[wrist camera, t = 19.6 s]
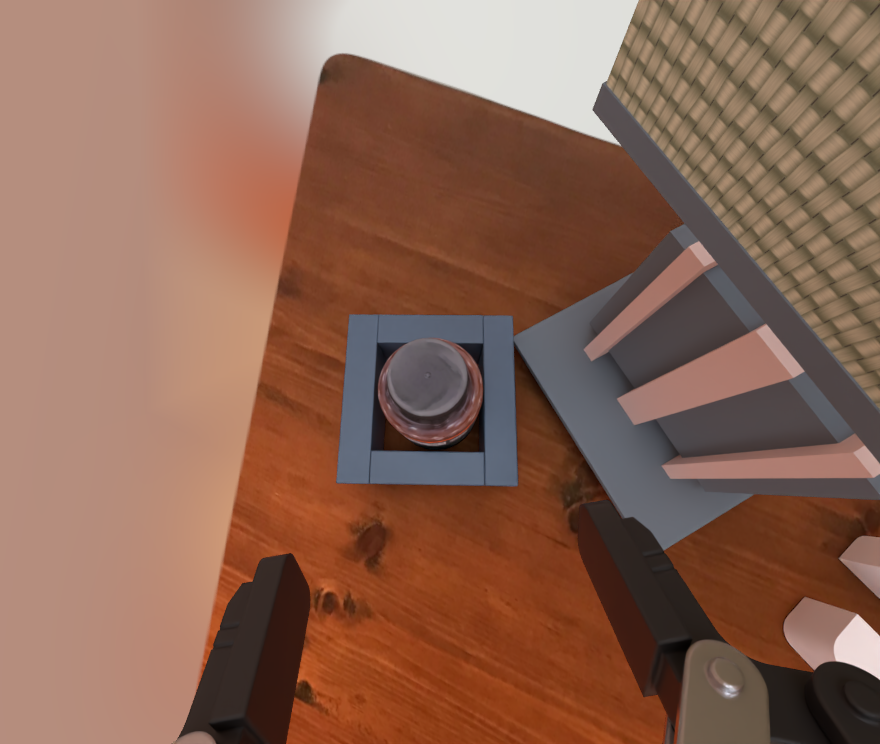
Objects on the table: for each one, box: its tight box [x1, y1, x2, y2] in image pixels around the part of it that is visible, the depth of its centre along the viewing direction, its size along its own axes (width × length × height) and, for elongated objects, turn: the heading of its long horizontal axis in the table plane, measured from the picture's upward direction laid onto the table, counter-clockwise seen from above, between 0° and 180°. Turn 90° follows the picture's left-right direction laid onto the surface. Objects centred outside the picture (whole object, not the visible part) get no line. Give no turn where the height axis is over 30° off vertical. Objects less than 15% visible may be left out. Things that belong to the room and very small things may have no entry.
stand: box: [336, 315, 518, 486], centre depth 28 cm, size 11×11×5 cm
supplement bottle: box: [378, 338, 483, 450], centre depth 25 cm, size 6×6×11 cm
